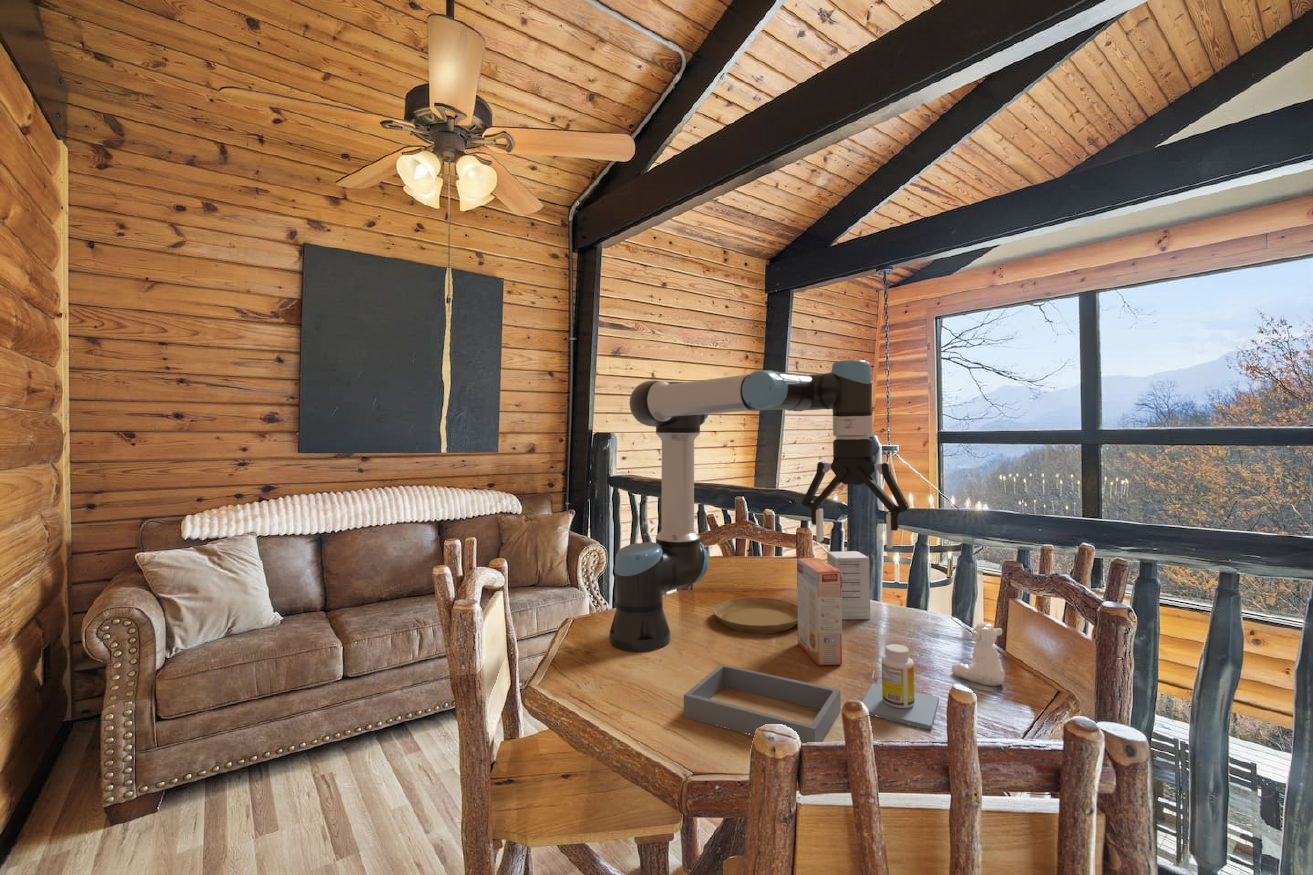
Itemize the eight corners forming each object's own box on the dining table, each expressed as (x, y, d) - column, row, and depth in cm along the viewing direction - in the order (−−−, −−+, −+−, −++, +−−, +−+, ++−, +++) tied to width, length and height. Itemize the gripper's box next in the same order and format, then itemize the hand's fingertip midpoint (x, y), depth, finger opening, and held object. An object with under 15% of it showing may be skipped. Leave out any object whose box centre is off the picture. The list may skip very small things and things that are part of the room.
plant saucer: (721, 639, 144) (721, 626, 144) (707, 609, 168) (707, 598, 168) (816, 635, 145) (816, 622, 145) (789, 606, 169) (789, 595, 169)
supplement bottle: (906, 695, 110) (906, 642, 109) (919, 709, 104) (919, 653, 104) (877, 695, 110) (876, 642, 110) (888, 710, 104) (888, 653, 104)
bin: (683, 716, 105) (683, 694, 104) (721, 683, 118) (721, 663, 118) (815, 753, 92) (815, 729, 92) (840, 711, 106) (840, 689, 105)
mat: (858, 713, 105) (858, 708, 105) (872, 687, 115) (872, 683, 115) (931, 730, 98) (931, 725, 98) (938, 701, 109) (938, 697, 109)
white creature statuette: (990, 669, 123) (990, 613, 123) (1021, 687, 114) (1021, 627, 114) (949, 672, 121) (949, 616, 121) (978, 690, 113) (977, 630, 113)
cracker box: (844, 665, 126) (842, 570, 126) (817, 666, 125) (815, 571, 125) (821, 642, 140) (820, 556, 140) (797, 643, 139) (796, 557, 139)
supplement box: (871, 619, 155) (870, 557, 155) (837, 620, 156) (836, 558, 155) (859, 608, 165) (858, 550, 165) (827, 609, 165) (826, 550, 165)
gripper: (786, 438, 119) (787, 541, 119) (917, 437, 105) (919, 553, 106) (797, 438, 125) (798, 535, 125) (923, 437, 112) (924, 546, 112)
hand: (853, 544), depth 115 cm, fingers open, 13 cm apart
